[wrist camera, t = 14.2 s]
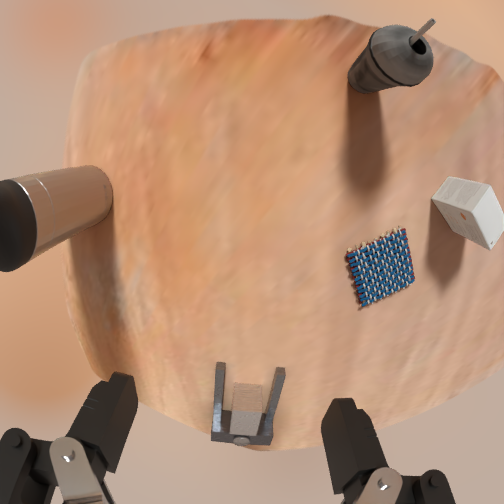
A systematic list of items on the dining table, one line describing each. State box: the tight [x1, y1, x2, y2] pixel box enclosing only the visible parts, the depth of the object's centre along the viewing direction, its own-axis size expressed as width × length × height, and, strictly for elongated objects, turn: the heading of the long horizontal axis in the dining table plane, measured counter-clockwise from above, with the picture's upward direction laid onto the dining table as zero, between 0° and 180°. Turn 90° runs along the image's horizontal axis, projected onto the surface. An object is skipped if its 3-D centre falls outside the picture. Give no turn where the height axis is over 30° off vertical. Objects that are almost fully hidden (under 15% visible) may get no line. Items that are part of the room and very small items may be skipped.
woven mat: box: [346, 225, 415, 306], centre depth 40 cm, size 10×11×2 cm
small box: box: [431, 176, 504, 250], centre depth 32 cm, size 8×6×10 cm
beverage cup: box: [348, 19, 436, 93], centre depth 22 cm, size 7×7×20 cm
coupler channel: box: [211, 362, 286, 446], centre depth 46 cm, size 12×18×7 cm, turn 173°
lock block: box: [230, 383, 262, 436], centre depth 46 cm, size 5×8×7 cm, turn 173°
